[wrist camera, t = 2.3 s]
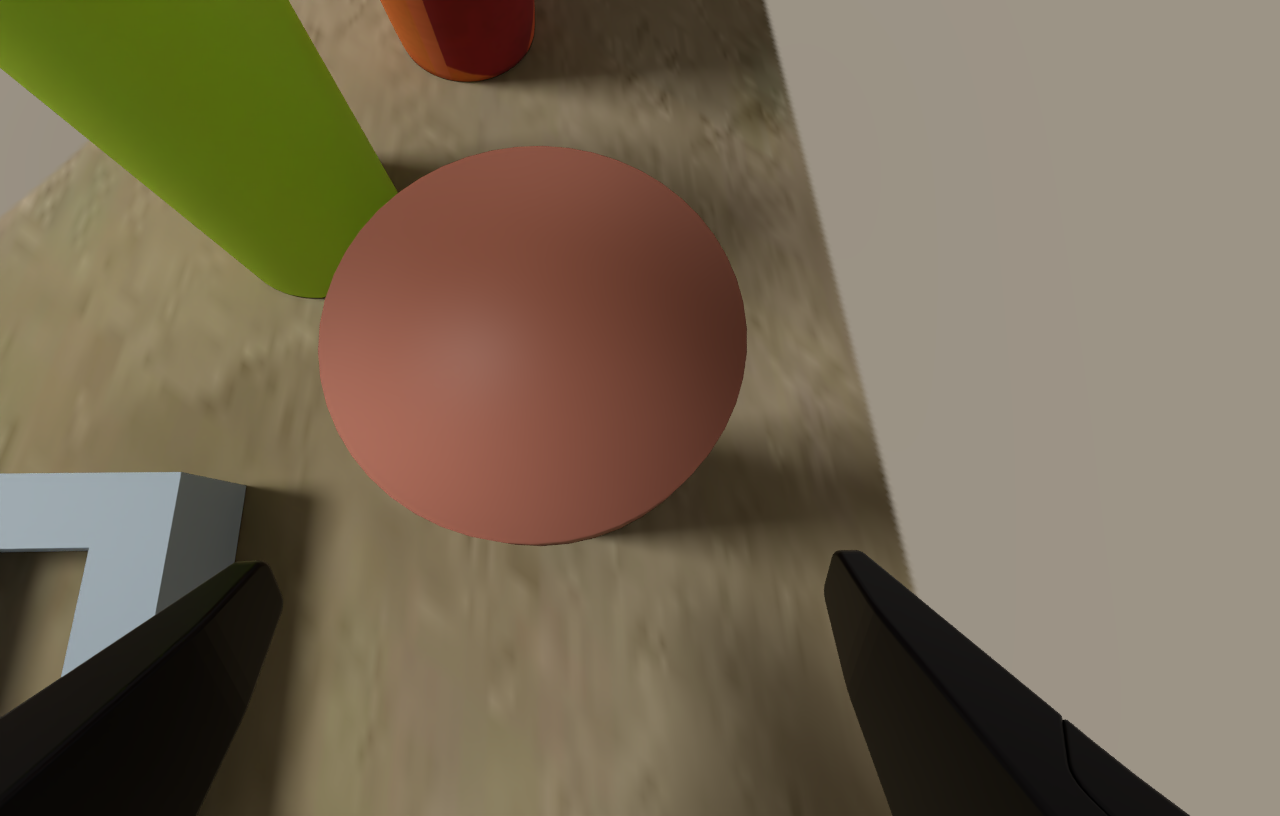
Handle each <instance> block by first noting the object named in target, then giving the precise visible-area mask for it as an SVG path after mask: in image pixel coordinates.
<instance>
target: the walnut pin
mask: <svg viewBox="0 0 1280 816" xmlns="http://www.w3.org/2000/svg"><path fill="white" fill-rule="evenodd" d="M746 354H747V326H746V319H745V312H744V305H743V300H742V296H741V293H740V289H739V286H738V282H737V279H736V276H735V274H734V272H733V269H732V267H731V265H730V262H729V260H728V258H727V256H726V254H725V252H724V251H723V249H722V247H721V246H720V244H719V242H718V241H717V239H716V237H715V236H714V234H713V233H712V232H711V230H710V229H709V228H708V226H707V225H706V224H705V223H704V221H703V220H702V219H701V218H700V216H699V215H698V214H697V213H696V212H695V211H694V210H693V209H692V208H691V207H690V206H689V205H688V204H687V203H686V202H685V201H684V200H683V199H682V198H680V197H679V196H678V195H676V194H675V193H674V192H673V191H671V190H670V189H669V188H667V187H666V186H665V185H663V184H662V183H661V182H659V181H657V180H655V179H654V178H652V177H650V176H649V175H647V174H645V173H644V172H642V171H640V170H638V169H636V168H634V167H631V166H629V165H627V164H625V163H622V162H620V161H618V160H615V159H612V158H608V157H605V156H602V155H599V154H596V153H592V152H587V151H581V150H576V149H571V148H562V147H549V146H529V147H513V148H506V149H499V150H492V151H488V152H484V153H481V154H477V155H473V156H469V157H466V158H463V159H460V160H458V161H455V162H453V163H450V164H447V165H445V166H442V167H440V168H439V169H437V170H435V171H433V172H431V173H429V174H427V175H425V176H423V177H421V178H419V179H418V180H416V181H415V182H413V183H412V184H411V185H409V186H408V187H406V188H405V189H403V190H402V191H400V192H399V193H397V194H396V195H395V196H394V197H393V198H392V199H391V200H389V201H388V202H387V203H386V204H385V205H384V206H383V207H381V208H380V209H379V210H378V211H377V212H376V213H375V214H374V215H373V217H372V218H371V219H370V220H369V221H368V222H367V223H366V224H365V226H364V227H363V228H362V229H361V230H360V231H359V233H358V234H357V236H356V237H355V239H354V240H353V242H352V243H351V244H350V246H349V247H348V249H347V250H346V252H345V254H344V256H343V258H342V260H341V262H340V264H339V265H338V267H337V269H336V271H335V273H334V275H333V278H332V281H331V284H330V287H329V290H328V292H327V295H326V298H325V302H324V307H323V312H322V317H321V322H320V329H319V346H318V356H319V367H320V379H321V383H322V387H323V391H324V396H325V400H326V404H327V407H328V409H329V412H330V414H331V417H332V419H333V422H334V424H335V427H336V429H337V431H338V433H339V435H340V437H341V438H342V440H343V442H344V443H345V445H346V447H347V448H348V450H349V452H350V454H351V455H352V456H353V458H354V459H355V460H356V461H357V463H358V464H359V465H360V466H361V468H362V469H363V470H364V471H365V473H366V474H367V475H368V476H369V477H370V478H371V479H372V480H373V481H374V482H375V483H376V484H377V485H378V486H379V487H380V488H382V489H383V490H384V491H385V492H386V493H387V494H388V495H389V496H390V497H392V498H393V499H394V500H396V501H397V502H399V503H400V504H402V505H403V506H405V507H406V508H408V509H409V510H411V511H412V512H413V513H415V514H417V515H419V516H421V517H423V518H425V519H427V520H429V521H431V522H433V523H435V524H437V525H439V526H441V527H444V528H447V529H450V530H453V531H456V532H459V533H462V534H465V535H468V536H471V537H477V538H482V539H487V540H493V541H498V542H503V543H509V544H515V545H533V546H547V545H559V544H569V543H574V542H579V541H583V540H588V539H592V538H596V537H598V536H601V535H604V534H607V533H610V532H612V531H615V530H618V529H620V528H622V527H624V526H626V525H628V524H630V523H631V522H633V521H635V520H637V519H639V518H641V517H643V516H644V515H646V514H647V513H648V512H650V511H651V510H653V509H654V508H655V507H657V506H658V505H660V504H661V503H663V502H664V501H665V500H666V499H667V498H668V497H669V496H670V495H671V494H672V493H673V492H674V491H676V490H677V489H678V488H679V487H680V486H681V485H682V484H683V483H684V482H685V481H686V480H687V479H688V478H689V477H690V476H691V475H692V474H693V472H694V471H695V470H696V469H697V468H698V466H699V465H700V464H701V463H702V462H703V460H704V459H705V458H706V457H707V456H708V454H709V453H710V452H711V450H712V449H713V447H714V445H715V444H716V442H717V441H718V439H719V437H720V436H721V434H722V432H723V431H724V429H725V427H726V425H727V423H728V420H729V418H730V416H731V414H732V411H733V409H734V407H735V405H736V401H737V398H738V394H739V391H740V387H741V384H742V380H743V375H744V368H745V361H746Z"/></svg>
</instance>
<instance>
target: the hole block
mask: <svg viewBox="0 0 1280 816" xmlns="http://www.w3.org/2000/svg"><path fill="white" fill-rule="evenodd" d="M245 491H246V485H241V484H236V483H231V482H227V481H222V480H217V479H212V478H207V477H203V476H198V475H193V474H188V473H183V472H135V473H23V474H0V552H50V551H88V555H87V560H86V565H85V569H84V574H83V578H82V583H81V588H80V592H79V597H78V601H77V606H76V611H75V615H74V620H73V625H72V629H71V634H70V638H69V643H68V648H67V652H66V657H65V661H64V666H63V671H62V675H61V677H63V676H64V675H66V674H67V673H69V672H70V671H72V670H73V669H75V668H76V667H78V666H79V665H81V664H82V663H84V662H85V661H87V660H88V659H90V658H91V657H93V656H94V655H96V654H97V653H99V652H100V651H102V650H103V649H105V648H106V647H108V646H109V645H111V644H112V643H114V642H115V641H117V640H118V639H120V638H121V637H123V636H124V635H126V634H127V633H129V632H130V631H132V630H133V629H135V628H136V627H138V626H139V625H141V624H142V623H144V622H145V621H147V620H148V619H150V618H151V617H153V616H154V615H156V614H157V613H159V612H160V611H162V610H163V609H165V608H166V607H168V606H169V605H171V604H172V603H174V602H175V601H177V600H178V599H180V598H181V597H183V596H184V595H186V594H187V593H189V592H190V591H192V590H193V589H195V588H196V587H198V586H199V585H201V584H202V583H204V582H205V581H207V580H208V579H210V578H211V577H213V576H214V575H216V574H217V573H219V572H220V571H222V570H223V569H225V568H226V567H228V566H229V565H231V564H233V563H234V562H235V556H236V549H237V543H238V536H239V530H240V523H241V517H242V510H243V504H244V498H245Z"/></svg>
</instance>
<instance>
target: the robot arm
mask: <svg viewBox="0 0 1280 816" xmlns="http://www.w3.org/2000/svg"><path fill="white" fill-rule="evenodd" d="M824 596H825V602H826V606H827V610H828V614H829V618H830V622H831V626H832V631H833V635H834V639H835V643H836V647H837V651H838V655H839V659H840V663H841V667H842V671H843V675H844V679H845V683H846V686H847V690H848V693H849V696H850V699H851V702H852V705H853V708H854V710H855V713H856V716H857V719H858V721H859V724H860V727H861V730H862V732H863V735H864V738H865V741H866V743H867V746H868V749H869V752H870V755H871V757H872V760H873V763H874V766H875V768H876V771H877V774H878V777H879V779H880V782H881V785H882V788H883V790H884V793H885V796H886V799H887V801H888V804H889V807H890V810H891V813H892V815H893V816H1190V815H1188V814H1187V813H1186V812H1184V811H1183V810H1182V809H1180V808H1179V807H1178V806H1176V805H1175V804H1174V803H1172V802H1171V801H1170V800H1168V799H1167V798H1166V797H1164V796H1163V795H1162V794H1160V793H1159V792H1158V791H1156V790H1155V789H1153V788H1152V787H1151V786H1150V785H1148V784H1147V783H1146V782H1144V781H1143V780H1142V779H1140V778H1139V777H1137V776H1136V775H1135V774H1134V773H1132V772H1131V771H1130V770H1129V769H1127V768H1126V767H1125V766H1123V765H1122V764H1121V763H1120V762H1119V761H1117V760H1116V759H1115V758H1114V757H1112V756H1111V755H1110V754H1109V753H1107V752H1106V751H1105V750H1104V749H1102V748H1101V747H1100V746H1098V745H1097V744H1096V743H1095V742H1093V741H1092V740H1091V739H1090V738H1088V737H1087V736H1086V735H1085V734H1084V733H1083V732H1081V731H1080V730H1079V729H1078V728H1076V727H1075V726H1074V725H1073V724H1072V723H1070V722H1069V721H1068V720H1062V716H1061V715H1060V714H1059V713H1058V712H1057V711H1055V710H1054V709H1053V708H1052V707H1051V706H1049V705H1048V704H1047V703H1046V702H1044V701H1043V700H1042V699H1041V698H1040V697H1038V696H1037V695H1036V694H1035V693H1034V692H1032V691H1031V690H1030V689H1029V688H1027V687H1026V686H1025V685H1024V684H1022V683H1021V682H1020V681H1019V680H1018V679H1017V678H1015V677H1014V676H1013V675H1012V674H1010V673H1009V672H1008V671H1007V670H1006V669H1004V668H1003V667H1002V666H1001V665H1000V664H998V663H997V662H996V661H995V660H993V659H992V658H991V657H990V656H988V655H987V654H986V653H985V652H984V651H982V650H981V649H980V648H979V647H978V646H976V645H975V644H974V643H973V642H972V641H970V640H969V639H968V638H966V637H965V636H964V635H963V634H962V633H961V632H959V631H958V630H957V629H956V628H954V627H953V626H952V625H951V624H949V623H948V622H947V621H946V620H945V619H944V618H942V617H941V616H940V615H938V614H937V613H936V612H935V611H934V610H932V609H931V608H930V607H929V606H928V605H926V604H925V603H924V602H923V601H922V600H920V599H919V598H918V597H917V596H916V595H914V594H913V593H912V592H911V591H909V590H908V589H907V588H906V587H905V586H903V585H902V584H901V583H900V582H899V581H897V580H896V579H895V578H894V577H892V576H891V575H890V574H889V573H888V572H886V571H885V570H884V569H883V568H881V567H880V566H879V565H878V564H877V563H875V562H874V561H873V560H872V559H871V558H869V557H868V556H867V555H866V554H864V553H863V552H861V551H858V550H839V551H836V552H835V553H834V554H833V556H832V559H831V563H830V566H829V570H828V574H827V578H826V581H825V586H824ZM282 607H283V598H282V594H281V592H280V590H279V587H278V585H277V582H276V580H275V578H274V575H273V573H272V570H271V568H270V566H269V564H267V563H266V562H265V561H238V562H235V563H233V564H231V565H229V566H228V567H226V568H225V569H223V570H222V571H220V572H219V573H217V574H216V575H214V576H213V577H211V578H210V579H208V580H207V581H205V582H204V583H202V584H201V585H199V586H198V587H196V588H195V589H193V590H192V591H190V592H189V593H187V594H186V595H184V596H183V597H181V598H180V599H178V600H177V601H175V602H174V603H172V604H171V605H169V606H168V607H166V608H165V609H163V610H162V611H160V612H159V613H157V614H156V615H154V616H153V617H151V618H150V619H148V620H147V621H145V622H144V623H142V624H141V625H139V626H138V627H136V628H135V629H133V630H132V631H130V632H129V633H127V634H126V635H124V636H123V637H121V638H120V639H118V640H117V641H115V642H114V643H112V644H111V645H109V646H108V647H106V648H105V649H103V650H102V651H100V652H99V653H97V654H96V655H94V656H93V657H91V658H90V659H88V660H87V661H85V662H84V663H82V664H81V665H79V666H78V667H76V668H75V669H73V670H72V671H70V672H69V673H67V674H66V675H64V676H63V677H61V678H60V679H58V680H57V681H55V682H54V683H52V684H51V685H49V686H48V687H46V688H45V689H43V690H42V691H40V692H39V693H37V694H36V695H34V696H32V697H31V698H29V699H28V700H26V701H25V702H23V703H22V704H20V705H19V706H17V707H16V708H14V709H13V710H11V711H10V712H8V713H7V714H5V715H4V716H2V717H1V718H0V816H197V814H198V812H199V810H200V808H201V805H202V803H203V801H204V799H205V797H206V795H207V793H208V791H209V789H210V786H211V784H212V782H213V780H214V778H215V776H216V774H217V772H218V769H219V767H220V765H221V763H222V761H223V759H224V757H225V755H226V753H227V750H228V748H229V746H230V744H231V742H232V740H233V738H234V736H235V734H236V731H237V729H238V727H239V725H240V723H241V721H242V718H243V716H244V714H245V712H246V709H247V707H248V704H249V702H250V699H251V697H252V694H253V692H254V689H255V686H256V683H257V680H258V677H259V675H260V672H261V669H262V666H263V663H264V660H265V658H266V655H267V652H268V649H269V646H270V644H271V641H272V638H273V635H274V632H275V629H276V627H277V624H278V621H279V618H280V615H281V612H282Z"/></svg>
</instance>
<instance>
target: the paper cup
mask: <svg viewBox="0 0 1280 816" xmlns="http://www.w3.org/2000/svg"><path fill="white" fill-rule="evenodd" d="M380 1H381V3H382V5H383V7H384V9H385V11H386V13H387V15H388V17H389V19H390V21H391V23H392V25H393V27H394V29H395V31H396V33H397V35H398V37H399V39H400V40H401V42H402V44H403V46H404V48H405V49H406V51H407V52H408V54H409V55H410V57H411V58H412V59H413V60H414V61H415V62H416V63H417V64H418V65H419V66H420V67H422V68H423V69H424V70H426V71H428V72H430V73H431V74H434V75H436V76H438V77H441V78H444V79H448V80H453V81H463V82H470V81H480V80H485V79H489V78H493V77H495V76H498V75H500V74H502V73H504V72H506V71H508V70H510V69H511V68H513V67H514V66H515V65H516V64H517V63H519V62H520V61H521V59H522V58H523V57H524V56H525V55H526V53H527V52H528V50H529V48H530V46H531V44H532V41H533V37H534V30H535V6H534V0H380Z"/></svg>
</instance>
